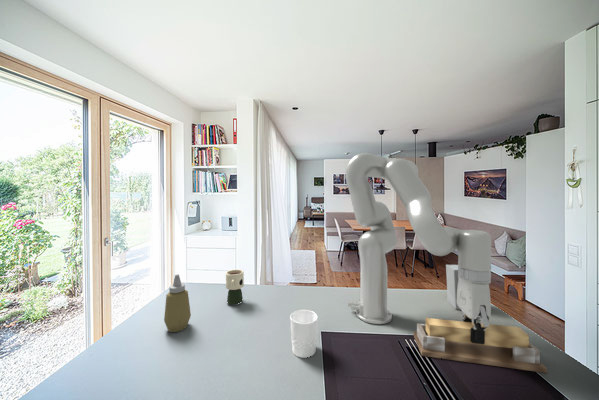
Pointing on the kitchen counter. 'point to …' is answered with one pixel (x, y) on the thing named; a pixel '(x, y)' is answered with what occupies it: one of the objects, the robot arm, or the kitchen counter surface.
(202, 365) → the kitchen counter surface
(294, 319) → the white cup
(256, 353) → the kitchen counter surface
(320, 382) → the kitchen counter surface
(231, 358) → the kitchen counter surface
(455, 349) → the end cap frame
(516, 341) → the slat
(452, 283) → the skincare box
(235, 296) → the character mug
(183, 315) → the squeeze bottle
